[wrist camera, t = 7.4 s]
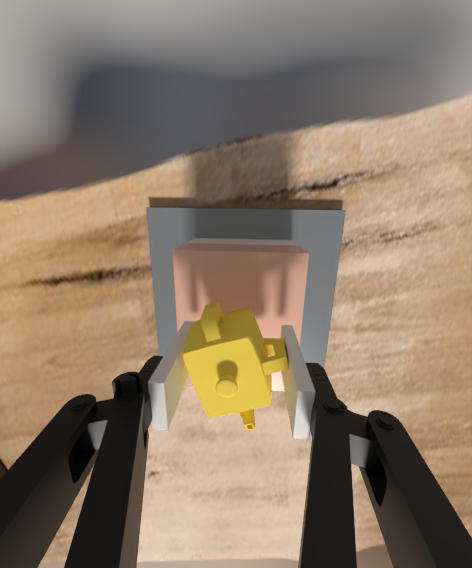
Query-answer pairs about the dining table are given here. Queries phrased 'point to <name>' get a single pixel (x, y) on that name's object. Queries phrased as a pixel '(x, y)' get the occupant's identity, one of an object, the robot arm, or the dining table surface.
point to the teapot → (232, 362)
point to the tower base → (251, 225)
